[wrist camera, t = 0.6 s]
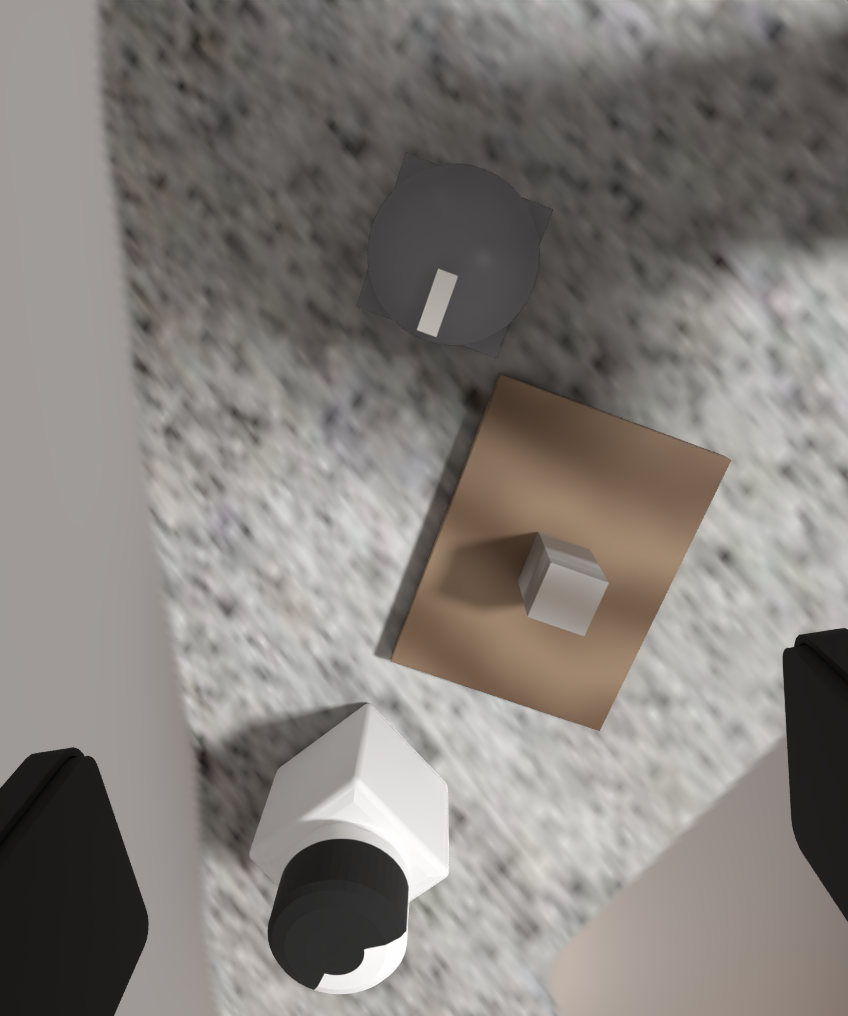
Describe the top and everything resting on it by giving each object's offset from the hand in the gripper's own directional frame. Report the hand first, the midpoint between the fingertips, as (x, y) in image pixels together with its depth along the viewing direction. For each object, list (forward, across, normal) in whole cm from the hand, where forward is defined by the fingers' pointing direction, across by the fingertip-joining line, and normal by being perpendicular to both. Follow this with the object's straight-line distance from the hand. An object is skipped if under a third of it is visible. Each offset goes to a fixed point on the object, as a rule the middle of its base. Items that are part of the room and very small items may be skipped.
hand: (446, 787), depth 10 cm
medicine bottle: (+29, +8, +19) cm, 36 cm away
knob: (+29, -2, -8) cm, 30 cm away
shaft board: (+29, -5, +8) cm, 30 cm away
